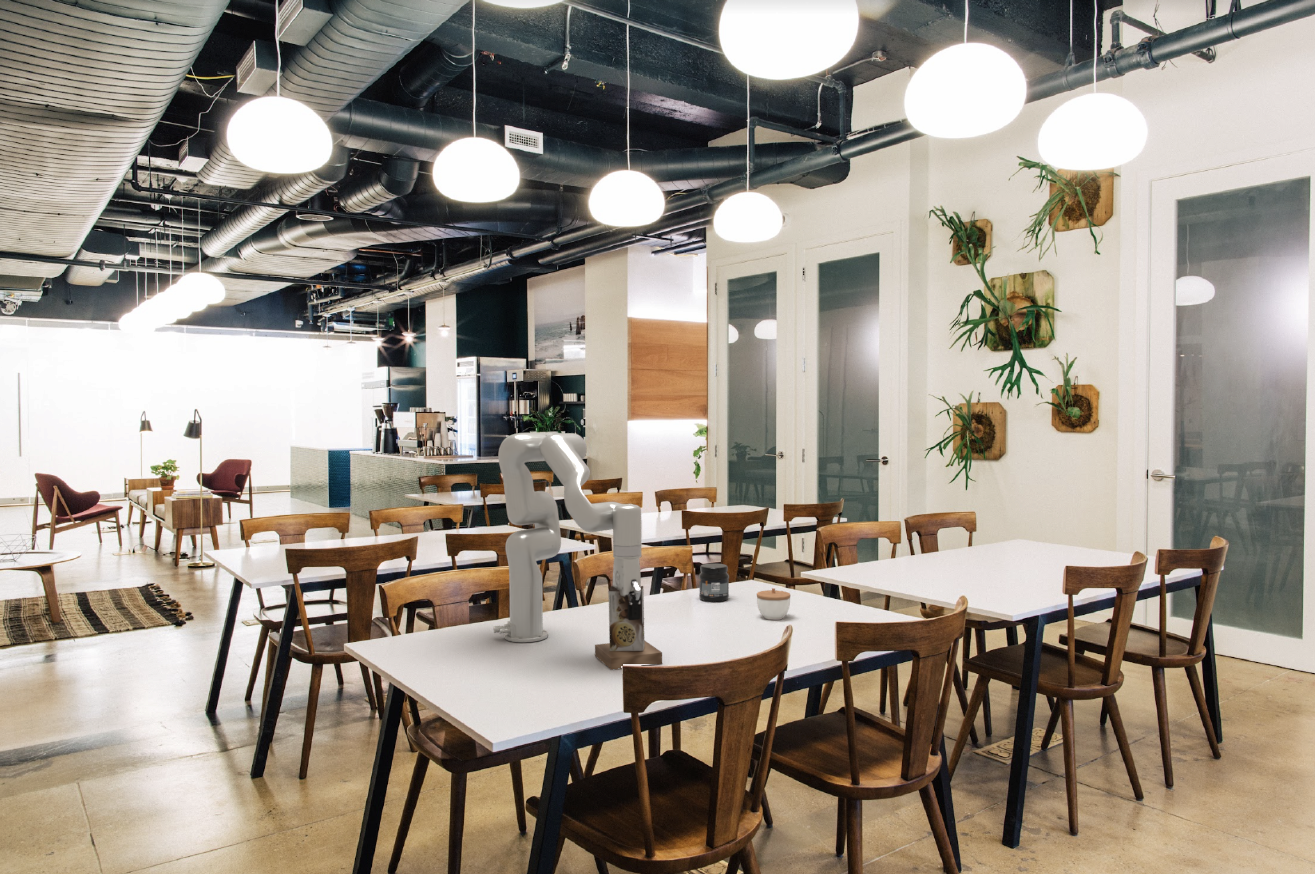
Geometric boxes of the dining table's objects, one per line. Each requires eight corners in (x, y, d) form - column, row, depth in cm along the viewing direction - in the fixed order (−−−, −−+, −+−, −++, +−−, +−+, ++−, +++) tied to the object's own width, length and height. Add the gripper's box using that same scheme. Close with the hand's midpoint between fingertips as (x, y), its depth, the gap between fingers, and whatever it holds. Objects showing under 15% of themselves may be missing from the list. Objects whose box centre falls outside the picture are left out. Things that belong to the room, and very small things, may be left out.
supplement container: (714, 595, 305) (714, 562, 305) (735, 599, 297) (735, 565, 297) (693, 599, 299) (692, 565, 298) (713, 604, 290) (713, 569, 290)
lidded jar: (792, 621, 265) (792, 591, 265) (758, 621, 265) (758, 592, 265) (788, 613, 276) (788, 585, 275) (755, 613, 276) (755, 585, 276)
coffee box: (645, 645, 227) (644, 585, 226) (643, 651, 220) (642, 590, 220) (611, 645, 227) (610, 585, 227) (608, 651, 221) (608, 590, 220)
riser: (611, 669, 215) (611, 658, 215) (595, 655, 228) (594, 644, 228) (662, 663, 220) (662, 652, 220) (643, 650, 233) (643, 639, 233)
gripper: (603, 547, 230) (604, 610, 230) (624, 557, 214) (625, 624, 214) (629, 545, 232) (630, 607, 233) (652, 555, 216) (652, 621, 217)
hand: (627, 615), depth 223 cm, fingers open, 9 cm apart
